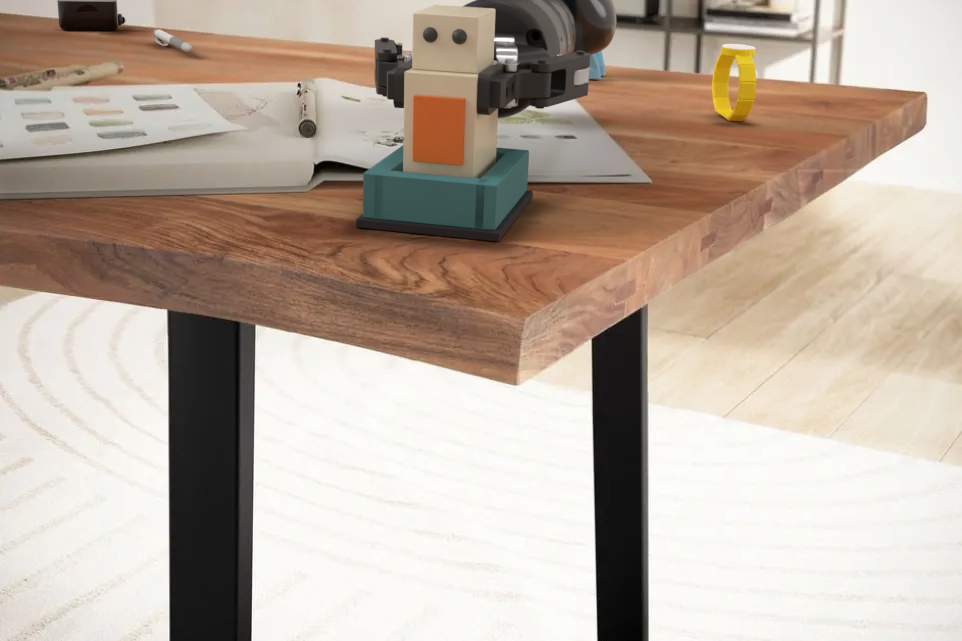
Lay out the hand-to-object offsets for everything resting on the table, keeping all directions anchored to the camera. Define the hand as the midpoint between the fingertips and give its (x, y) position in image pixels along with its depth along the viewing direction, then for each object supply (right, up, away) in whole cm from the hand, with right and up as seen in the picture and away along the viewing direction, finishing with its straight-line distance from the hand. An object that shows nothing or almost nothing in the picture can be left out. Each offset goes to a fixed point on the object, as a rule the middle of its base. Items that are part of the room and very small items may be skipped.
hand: (441, 92), depth 66 cm
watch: (+23, +5, +37) cm, 44 cm away
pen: (-30, +16, +61) cm, 70 cm away
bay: (0, -6, +5) cm, 8 cm away
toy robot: (0, -5, +5) cm, 7 cm away
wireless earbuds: (-42, +21, +74) cm, 87 cm away
